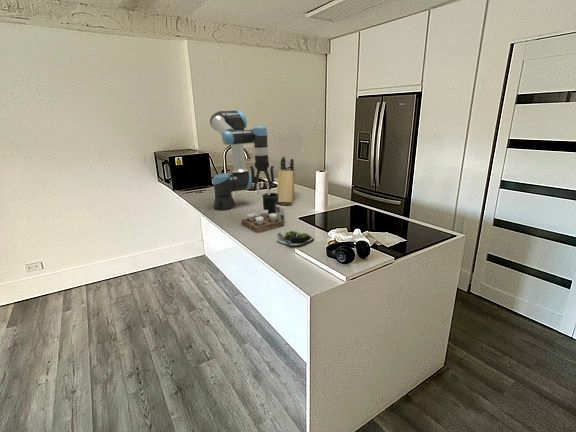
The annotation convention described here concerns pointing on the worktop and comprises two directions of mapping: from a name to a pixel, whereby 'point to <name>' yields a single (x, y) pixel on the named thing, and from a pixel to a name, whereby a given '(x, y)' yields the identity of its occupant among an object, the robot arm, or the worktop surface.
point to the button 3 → (264, 213)
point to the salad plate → (295, 238)
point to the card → (280, 213)
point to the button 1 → (251, 217)
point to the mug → (270, 202)
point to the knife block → (286, 183)
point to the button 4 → (273, 217)
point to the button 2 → (259, 220)
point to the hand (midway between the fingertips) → (263, 194)
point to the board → (266, 224)
